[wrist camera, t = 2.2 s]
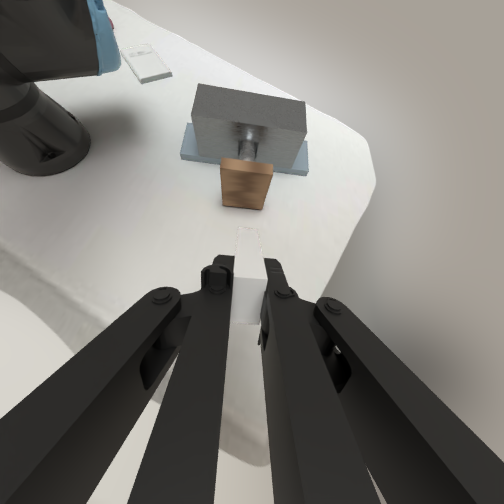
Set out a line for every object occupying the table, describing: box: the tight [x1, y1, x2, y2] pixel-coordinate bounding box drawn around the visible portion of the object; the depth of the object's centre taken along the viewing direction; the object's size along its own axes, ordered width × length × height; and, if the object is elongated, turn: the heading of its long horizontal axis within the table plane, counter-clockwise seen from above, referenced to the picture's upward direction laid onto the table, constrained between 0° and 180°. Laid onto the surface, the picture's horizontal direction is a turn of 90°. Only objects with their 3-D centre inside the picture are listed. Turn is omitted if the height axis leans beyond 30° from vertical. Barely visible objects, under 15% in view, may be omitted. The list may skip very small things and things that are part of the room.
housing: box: [180, 83, 309, 176], centre depth 37 cm, size 28×9×10 cm, turn 87°
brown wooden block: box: [220, 140, 273, 210], centre depth 33 cm, size 8×12×10 cm
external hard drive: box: [120, 44, 172, 84], centre depth 46 cm, size 2×8×12 cm
